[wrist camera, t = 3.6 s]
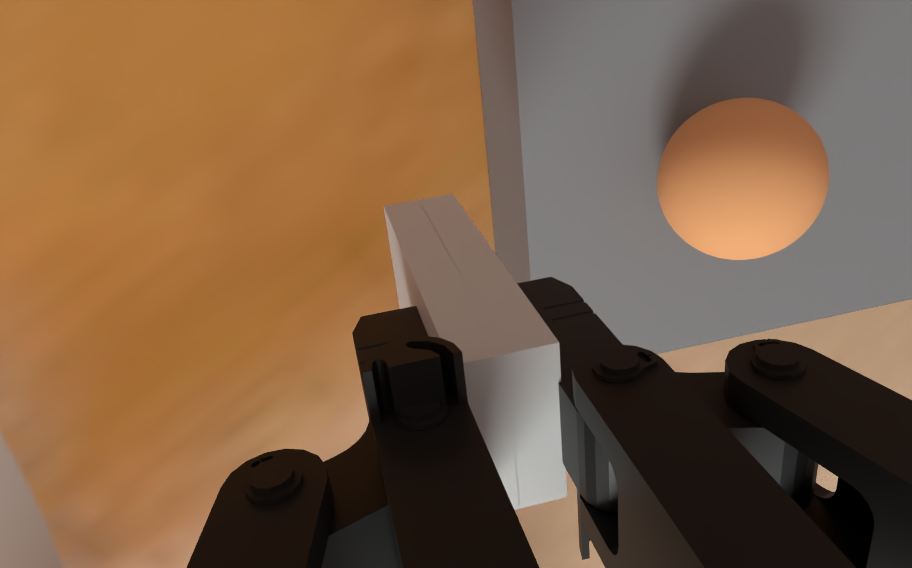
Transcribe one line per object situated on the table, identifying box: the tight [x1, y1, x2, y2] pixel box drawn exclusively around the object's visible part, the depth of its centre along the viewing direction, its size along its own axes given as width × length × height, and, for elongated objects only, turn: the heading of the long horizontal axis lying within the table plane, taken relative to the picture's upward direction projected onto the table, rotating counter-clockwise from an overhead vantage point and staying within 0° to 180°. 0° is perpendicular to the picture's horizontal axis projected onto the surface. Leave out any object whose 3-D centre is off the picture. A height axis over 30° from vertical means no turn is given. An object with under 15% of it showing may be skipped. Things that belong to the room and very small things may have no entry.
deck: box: [473, 0, 912, 354], centre depth 23 cm, size 16×12×4 cm
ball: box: [657, 98, 829, 260], centre depth 19 cm, size 4×4×4 cm
